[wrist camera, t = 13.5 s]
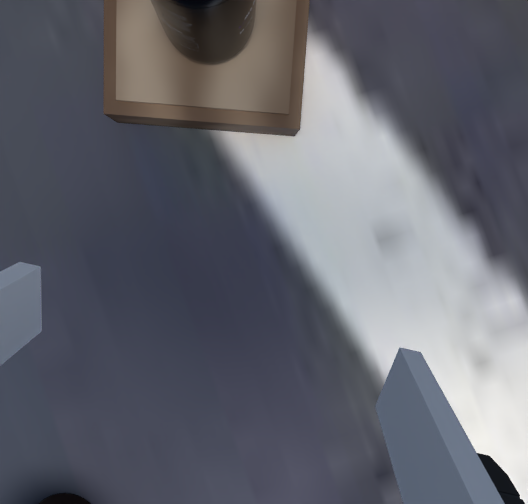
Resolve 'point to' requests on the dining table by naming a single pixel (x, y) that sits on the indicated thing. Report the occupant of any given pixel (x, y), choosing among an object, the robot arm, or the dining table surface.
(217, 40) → the supplement bottle
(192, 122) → the pedestal
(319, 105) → the dining table surface
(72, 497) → the coffee mug
